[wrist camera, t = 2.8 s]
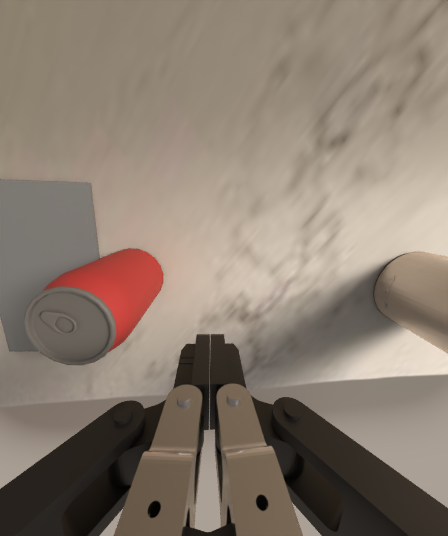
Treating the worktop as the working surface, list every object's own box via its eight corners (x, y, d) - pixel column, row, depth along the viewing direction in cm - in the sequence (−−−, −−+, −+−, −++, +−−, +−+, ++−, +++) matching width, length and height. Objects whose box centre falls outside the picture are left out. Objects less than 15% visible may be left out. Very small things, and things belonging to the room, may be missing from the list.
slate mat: (90, 183, 22) (88, 182, 22) (110, 349, 27) (108, 351, 27) (-31, 178, 21) (-36, 177, 21) (12, 349, 26) (9, 351, 26)
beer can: (122, 236, 24) (34, 259, 12) (174, 265, 25) (140, 311, 13) (98, 284, 25) (-1, 346, 13) (149, 309, 26) (98, 387, 14)
